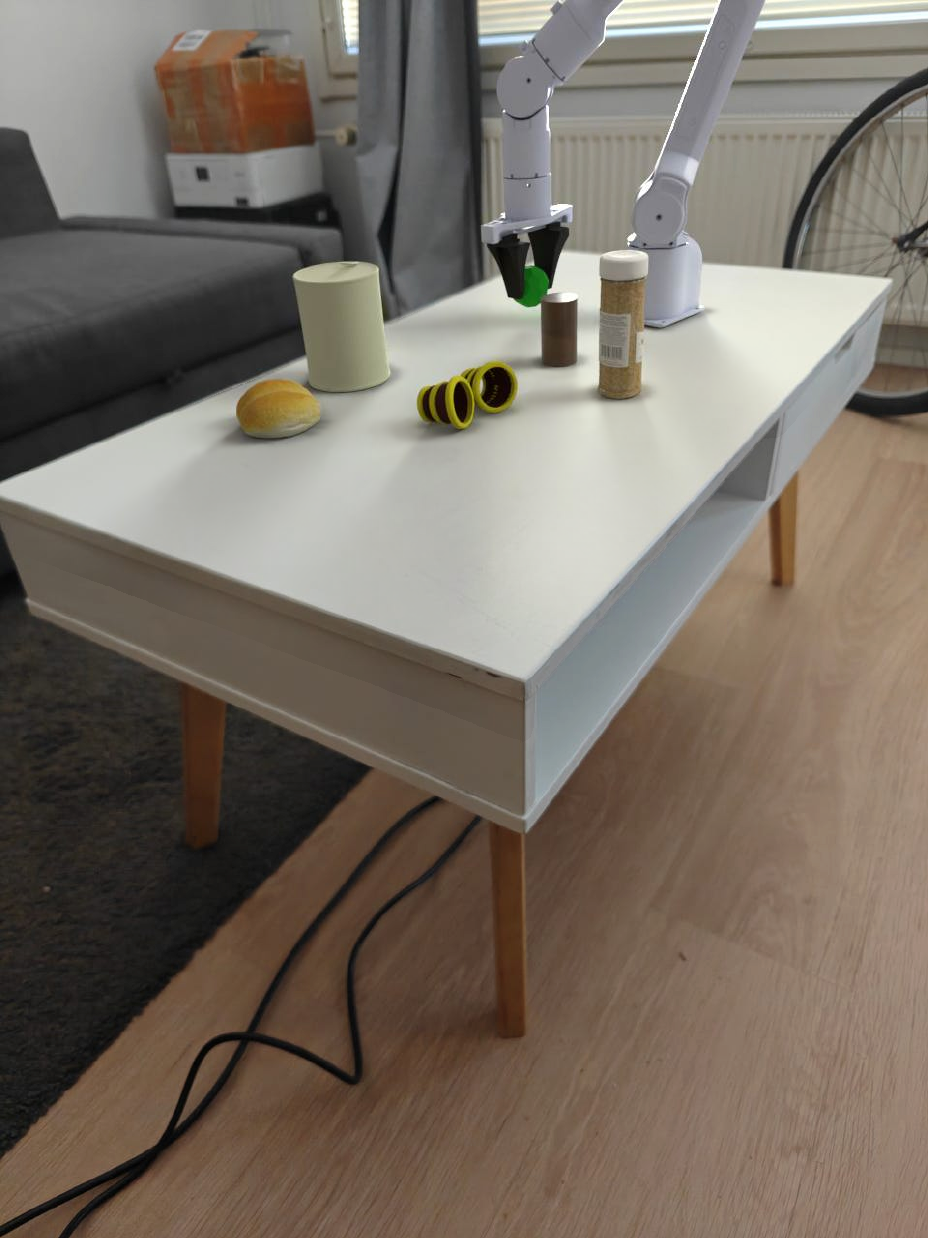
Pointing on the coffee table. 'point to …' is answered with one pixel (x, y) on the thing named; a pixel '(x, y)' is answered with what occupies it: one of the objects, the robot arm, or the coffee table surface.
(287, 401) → the bread roll
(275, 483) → the coffee table surface
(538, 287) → the polyhedron
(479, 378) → the opera glasses
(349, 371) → the can
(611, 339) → the sprinkles bottle
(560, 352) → the walnut peg
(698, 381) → the coffee table surface
